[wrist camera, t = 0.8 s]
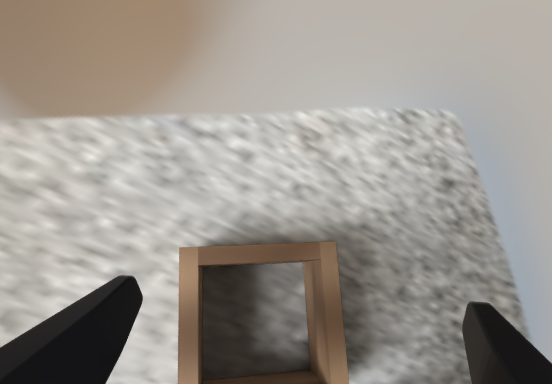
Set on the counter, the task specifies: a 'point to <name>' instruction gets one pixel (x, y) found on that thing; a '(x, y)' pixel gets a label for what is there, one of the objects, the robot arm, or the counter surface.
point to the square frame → (319, 305)
